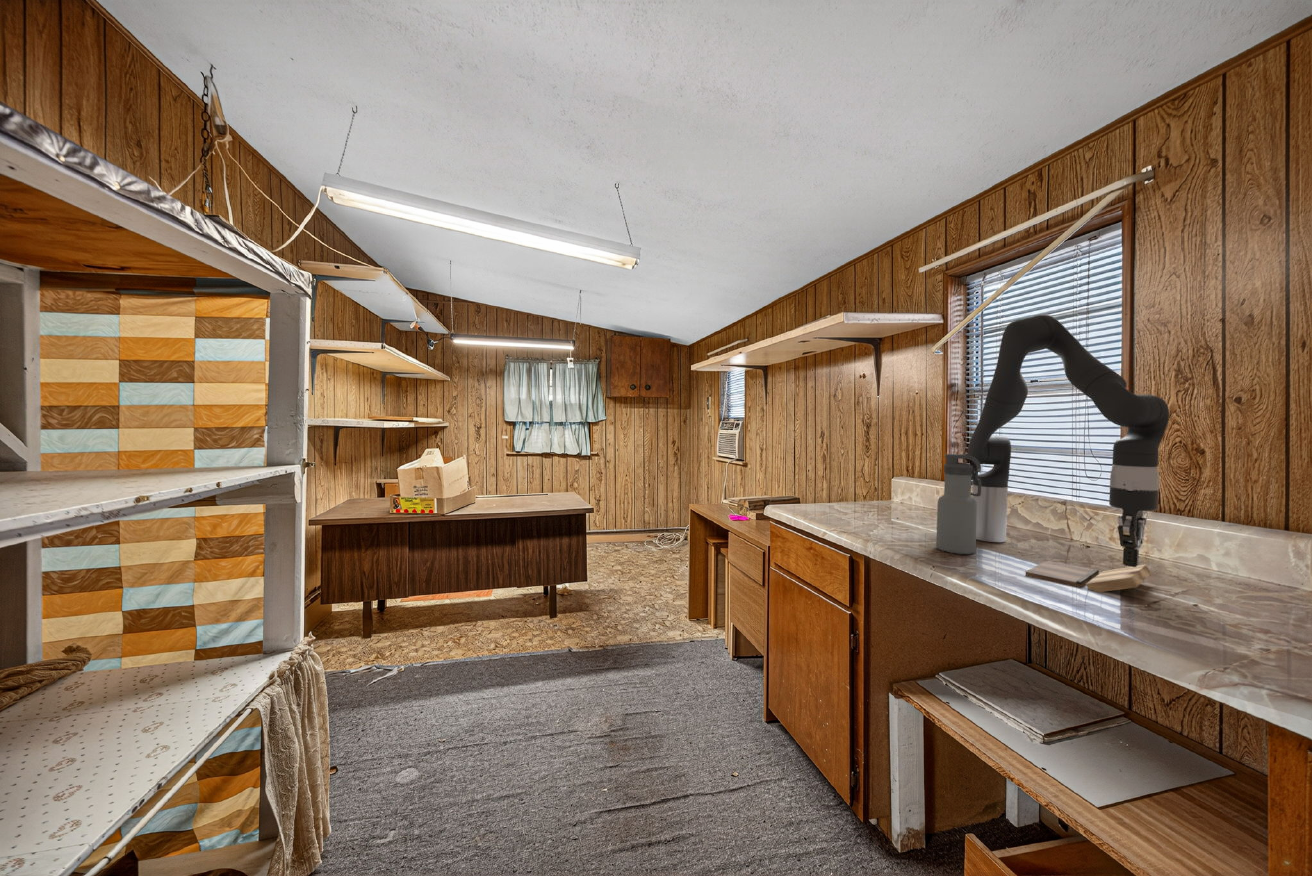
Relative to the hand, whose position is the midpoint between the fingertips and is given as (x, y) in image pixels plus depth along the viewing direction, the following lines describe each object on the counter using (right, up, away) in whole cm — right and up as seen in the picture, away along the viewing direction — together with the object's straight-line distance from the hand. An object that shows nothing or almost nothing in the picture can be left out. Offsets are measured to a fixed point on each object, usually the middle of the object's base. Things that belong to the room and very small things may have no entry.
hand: (1130, 565), depth 105 cm
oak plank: (-1, -4, +1) cm, 4 cm away
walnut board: (-7, -6, +9) cm, 13 cm away
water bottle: (-16, -5, +35) cm, 39 cm away
